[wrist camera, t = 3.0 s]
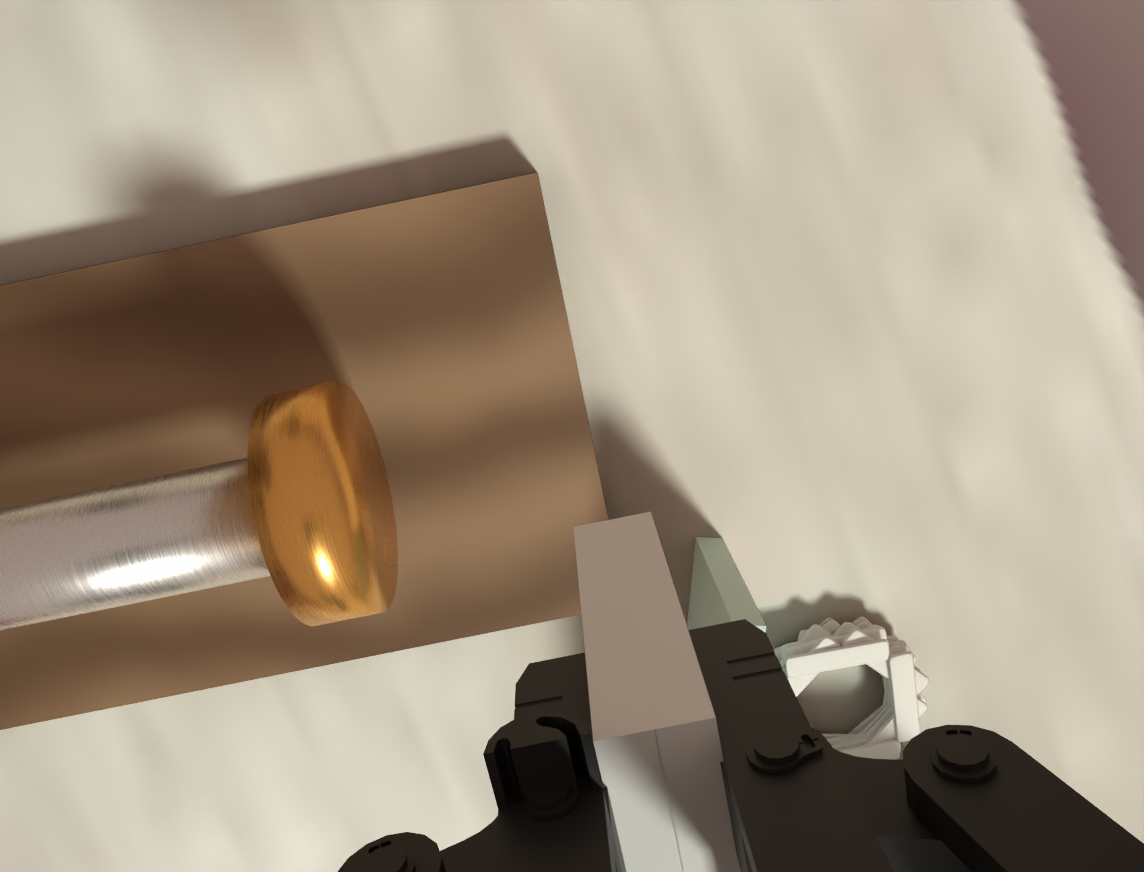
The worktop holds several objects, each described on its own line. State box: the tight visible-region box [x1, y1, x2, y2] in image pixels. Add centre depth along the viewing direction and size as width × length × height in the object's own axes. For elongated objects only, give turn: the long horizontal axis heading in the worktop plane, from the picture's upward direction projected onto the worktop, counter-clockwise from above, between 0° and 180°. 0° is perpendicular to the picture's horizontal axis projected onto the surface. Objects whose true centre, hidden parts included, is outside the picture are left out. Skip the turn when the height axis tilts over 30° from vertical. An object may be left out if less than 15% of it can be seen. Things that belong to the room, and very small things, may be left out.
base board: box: [0, 172, 608, 730], centre depth 33 cm, size 16×36×2 cm, turn 101°
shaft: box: [0, 380, 398, 630], centre depth 27 cm, size 7×21×7 cm, turn 101°
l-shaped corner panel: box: [687, 537, 929, 760], centre depth 34 cm, size 12×12×8 cm
